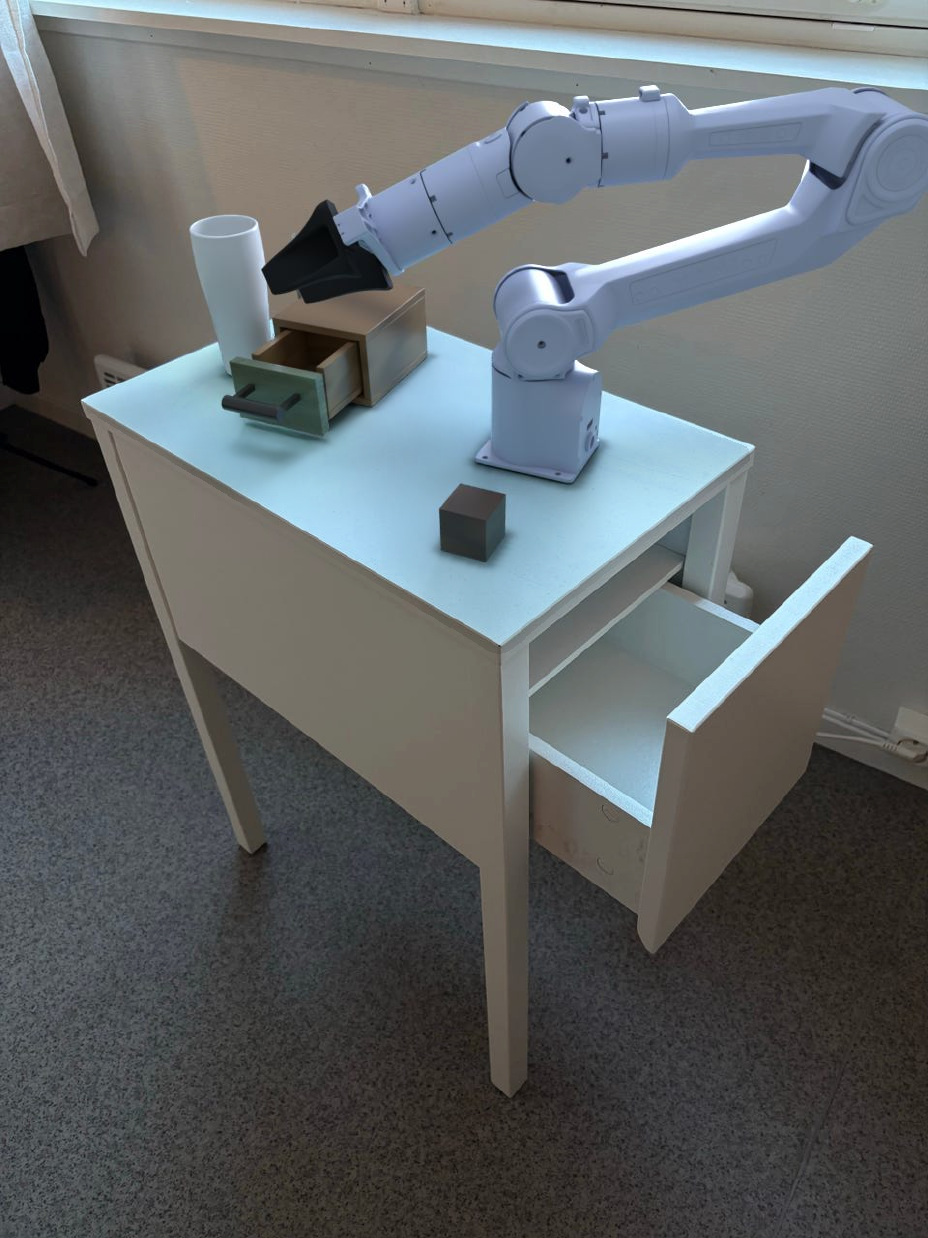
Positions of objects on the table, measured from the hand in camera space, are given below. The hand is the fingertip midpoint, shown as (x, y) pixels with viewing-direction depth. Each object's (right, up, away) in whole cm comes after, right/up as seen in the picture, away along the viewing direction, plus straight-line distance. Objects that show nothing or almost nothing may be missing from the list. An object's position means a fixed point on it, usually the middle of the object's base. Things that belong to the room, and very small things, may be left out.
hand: (285, 287), depth 73 cm
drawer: (-2, -6, +16) cm, 18 cm away
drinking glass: (-9, 0, +25) cm, 27 cm away
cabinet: (+3, 0, +24) cm, 24 cm away
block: (+15, -20, +1) cm, 25 cm away
